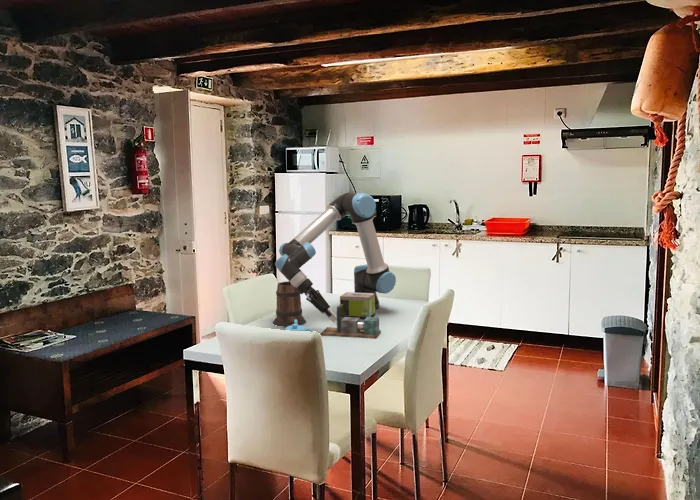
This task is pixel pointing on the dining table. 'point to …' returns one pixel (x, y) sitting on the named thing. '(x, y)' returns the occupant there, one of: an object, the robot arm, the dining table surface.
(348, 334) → the tube stand
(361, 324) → the grey piece
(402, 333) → the dining table surface
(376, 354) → the dining table surface
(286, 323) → the tankard
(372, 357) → the dining table surface
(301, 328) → the teapot
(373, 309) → the tea box
